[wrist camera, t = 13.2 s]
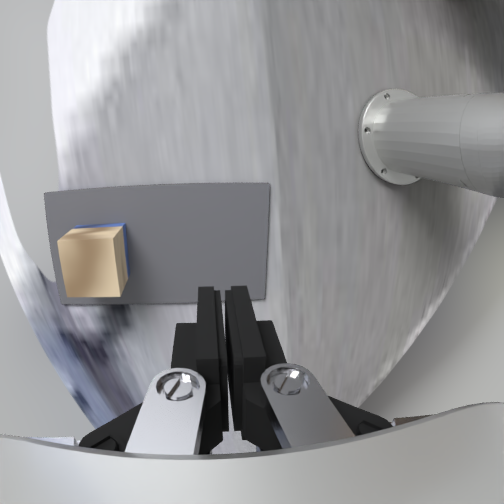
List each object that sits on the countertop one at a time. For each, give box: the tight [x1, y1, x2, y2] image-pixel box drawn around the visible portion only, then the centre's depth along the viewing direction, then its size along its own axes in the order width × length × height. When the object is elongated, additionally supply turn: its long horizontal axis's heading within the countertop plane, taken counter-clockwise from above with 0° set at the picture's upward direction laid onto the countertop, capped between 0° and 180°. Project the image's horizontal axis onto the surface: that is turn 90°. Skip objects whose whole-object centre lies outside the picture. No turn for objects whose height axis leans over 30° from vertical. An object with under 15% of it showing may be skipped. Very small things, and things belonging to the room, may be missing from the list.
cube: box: [57, 223, 130, 297], centre depth 31 cm, size 6×6×6 cm
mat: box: [44, 183, 270, 304], centre depth 35 cm, size 26×14×1 cm, turn 89°
